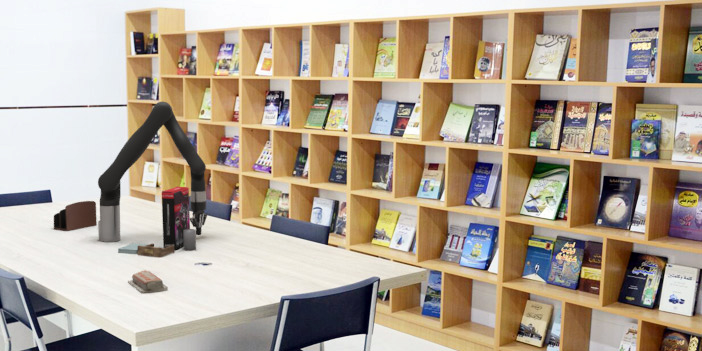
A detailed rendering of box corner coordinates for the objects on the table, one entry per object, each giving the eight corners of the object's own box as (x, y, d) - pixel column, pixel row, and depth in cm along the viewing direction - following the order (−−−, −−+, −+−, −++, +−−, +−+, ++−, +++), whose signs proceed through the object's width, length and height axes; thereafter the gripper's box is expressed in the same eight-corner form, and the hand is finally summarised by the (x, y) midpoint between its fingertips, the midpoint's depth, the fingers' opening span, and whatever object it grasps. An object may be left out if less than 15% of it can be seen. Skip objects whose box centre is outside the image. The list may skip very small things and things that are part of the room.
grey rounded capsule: (181, 250, 349) (180, 230, 348) (187, 247, 355) (187, 228, 354) (191, 251, 348) (191, 231, 347) (198, 248, 353) (198, 229, 352)
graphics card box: (175, 250, 348) (175, 191, 345) (161, 249, 349) (160, 190, 346) (190, 243, 365) (190, 186, 361) (177, 242, 366) (176, 186, 363)
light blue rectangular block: (118, 253, 342) (118, 248, 341) (132, 248, 354) (132, 243, 354) (136, 255, 340) (136, 250, 339) (150, 249, 352) (150, 244, 352)
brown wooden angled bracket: (137, 254, 338) (137, 246, 338) (152, 249, 349) (151, 241, 348) (160, 257, 334) (160, 248, 334) (174, 252, 345) (174, 243, 344)
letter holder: (97, 225, 405) (96, 199, 403) (66, 231, 387) (66, 204, 386) (83, 223, 409) (83, 197, 408) (53, 229, 392) (52, 202, 391)
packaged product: (168, 278, 282) (141, 282, 276) (168, 291, 282) (141, 295, 277) (152, 268, 297) (127, 271, 291) (153, 280, 297) (127, 283, 292)
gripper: (198, 197, 381) (199, 231, 383) (184, 201, 368) (184, 236, 371) (211, 198, 378) (212, 233, 380) (198, 202, 366) (198, 237, 368)
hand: (198, 234), depth 375 cm, fingers closed
